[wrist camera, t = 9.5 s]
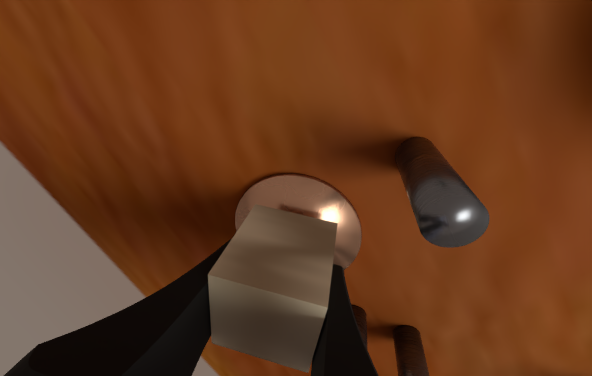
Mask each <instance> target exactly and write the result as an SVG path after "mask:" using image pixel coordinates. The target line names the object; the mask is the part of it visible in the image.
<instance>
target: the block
mask: <svg viewBox="0 0 592 376" xmlns="http://www.w3.org/2000/svg"><path fill="white" fill-rule="evenodd" d="M337 224H338V223H334V222H330V221H326V220H322V219H317V218H313V217H309V216H305V215H300V214H296V213H292V212H287V211H283V210H279V209H275V208H270V207H266V206H262V205H258V204H255V205H254V207H253V208H252V210H251V211H250V213H249V214H248V216H247V217H246V219H245V220H244V222H243V223H242V225H241V226H240V228H239V229H238V231H237V232H236V234H235V235H234V237H233V238H232V239H231V241H230V242H229V244H228V245H227V247H226V248H225V250H224V251H223V253H222V254H221V256H220V257H219V259H218V260H217V262H216V263H215V265H214V266H213V268H212V269H211V271H210V272H209V274H208V286H209V303H210V320H211V337H212V343H214V344H217V345H220V346H223V347H226V348H230V349H233V350H236V351H239V352H243V353H246V354H249V355H252V356H255V357H259V358H262V359H265V360H268V361H271V362H275V363H278V364H281V365H284V366H288V367H291V368H294V369H297V370H300V371H304V372H307V373H308V371H309V368H310V365H311V361H312V358H313V355H314V351H315V348H316V345H317V342H318V338H319V335H320V332H321V328H322V325H323V322H324V318H325V315H326V312H327V309H328V301H329V293H330V284H331V276H332V267H333V259H334V250H335V242H336V233H337Z"/></svg>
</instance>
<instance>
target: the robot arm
mask: <svg viewBox="0 0 592 376" xmlns="http://www.w3.org/2000/svg"><path fill="white" fill-rule="evenodd" d="M230 241H231V239H230V240H229V241H228V242H226V243H225V244H224V245H223V246H221V247H220V248H219V249H218V250H216V251H215V252H214V253H213V254H211V255H210V256H209V257H208V258H206V259H205V260H203V261H202V262H201V263H199V264H198V265H197V266H195V267H194V268H193V269H191V270H190V271H188V272H187V273H185V274H184V275H182V276H181V277H179V278H178V279H176V280H175V281H173V282H172V283H170V284H169V285H167V286H165V287H164V288H162V289H160V290H159V291H157V292H155V293H154V294H152V295H150V296H148V297H146V298H145V299H143V300H141V301H139V302H137V303H135V304H134V305H131V306H129V307H127V308H125V309H123V310H121V311H119V312H117V313H115V314H113V315H111V316H108V317H106V318H104V319H102V320H99V321H97V322H95V323H93V324H91V325H88V326H86V327H83V328H81V329H78V330H76V331H73V332H71V333H68V334H65V335H63V336H60V337H57V338H55V339H52V340H49V341H47V342H44V343H41V344H38V345H37V346H36V347H35V348H34V349H33V350H32V351H30V352H29V353H28V354H27V355H26V356H25V357H24V358H22V359H21V360H20V361H19V362H18V363H17V364H16V365H15V366H14V367H13V368H12V369H11V370H9V371H8V372H7V373H6V374H5V375H4V376H192V373H193V371H194V369H195V367H196V364H197V362H198V360H199V358H200V356H201V354H202V351H203V349H204V347H205V345H206V343H207V342H208V340H209V338H210V336H211V320H210V303H209V286H208V274H209V272H210V271H211V269H212V268H213V266H214V265H215V263H216V262H217V260H218V259H219V257H220V256H221V254H222V253H223V251H224V250H225V248H226V247H227V245H228V244H229V242H230ZM311 376H378V373H377V371H376V369H375V367H374V365H373V363H372V360H371V358H370V356H369V353H368V351H367V349H366V346H365V344H364V341H363V338H362V336H361V333H360V330H359V328H358V325H357V322H356V319H355V316H354V313H353V309H352V306H351V303H350V299H349V295H348V291H347V287H346V282H345V277H344V270H343V267H342V266H340V265H336V264H333V267H332V276H331V284H330V293H329V301H328V309H327V312H326V315H325V318H324V322H323V325H322V328H321V332H320V335H319V338H318V342H317V345H316V348H315V351H314V355H313V358H312V370H311Z"/></svg>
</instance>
